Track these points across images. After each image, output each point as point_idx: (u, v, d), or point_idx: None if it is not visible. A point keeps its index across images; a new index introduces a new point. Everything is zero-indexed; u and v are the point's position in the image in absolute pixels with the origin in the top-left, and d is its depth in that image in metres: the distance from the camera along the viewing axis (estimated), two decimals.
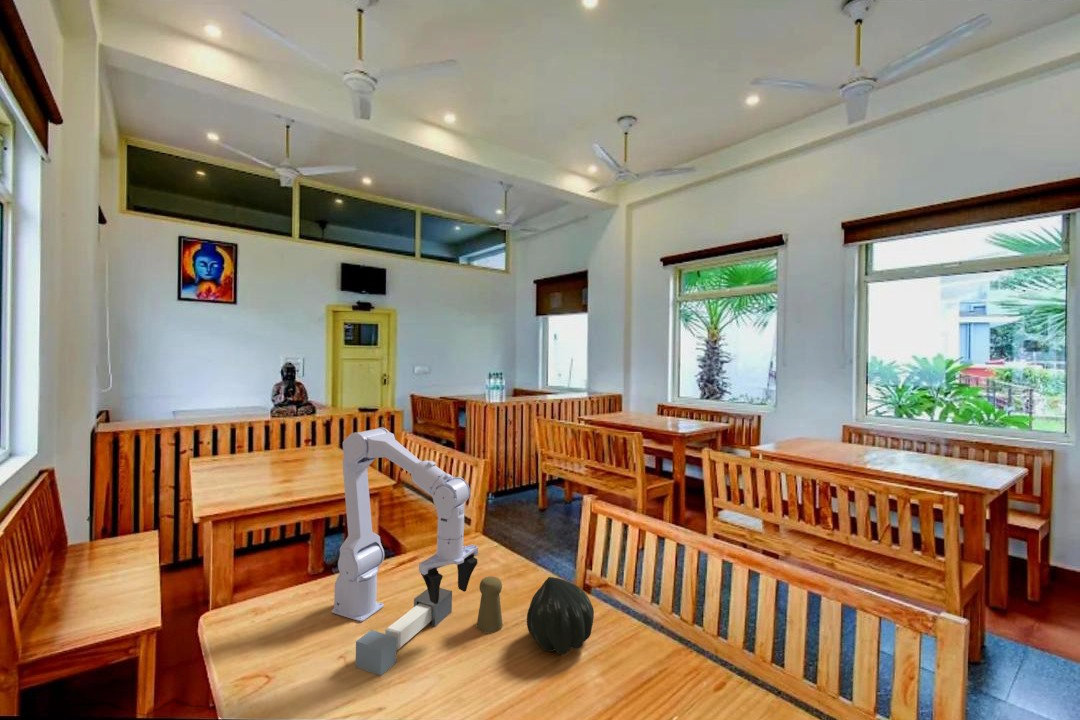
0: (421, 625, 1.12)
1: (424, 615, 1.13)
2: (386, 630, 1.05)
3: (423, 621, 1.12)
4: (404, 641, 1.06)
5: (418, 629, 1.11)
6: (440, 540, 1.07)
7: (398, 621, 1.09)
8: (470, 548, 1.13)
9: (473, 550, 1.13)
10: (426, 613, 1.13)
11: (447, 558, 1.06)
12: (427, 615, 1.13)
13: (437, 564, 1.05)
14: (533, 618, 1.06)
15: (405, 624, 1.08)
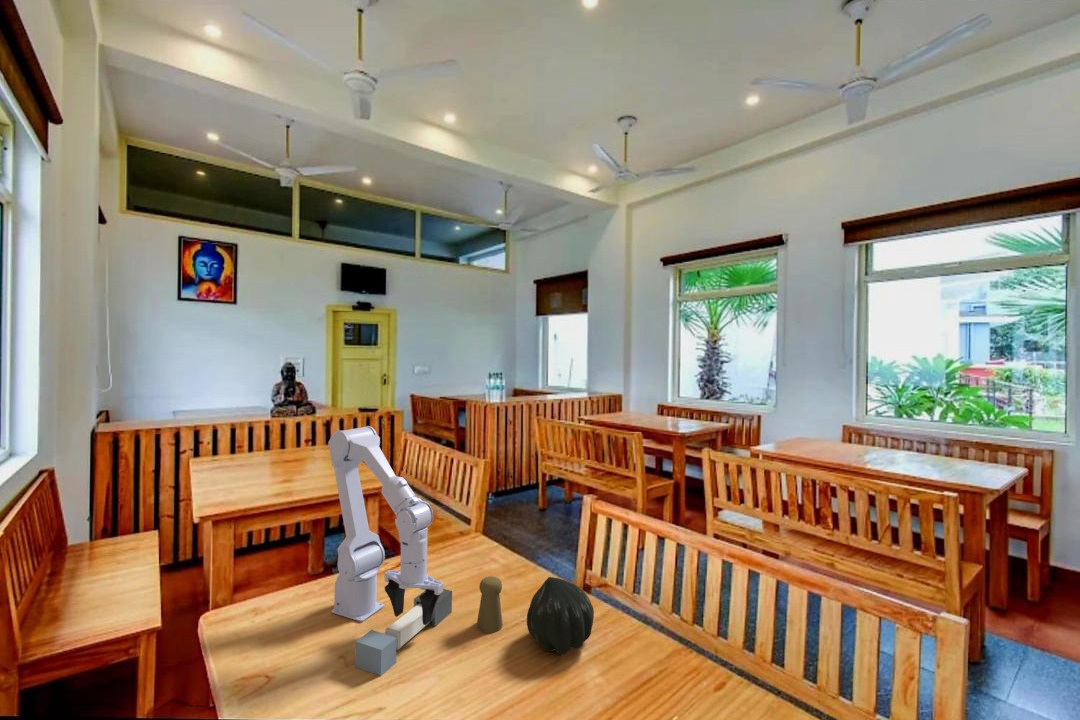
0: (421, 625, 1.12)
1: None
2: (386, 630, 1.05)
3: None
4: (404, 641, 1.06)
5: (418, 629, 1.11)
6: None
7: (398, 621, 1.09)
8: (434, 584, 1.08)
9: (431, 587, 1.08)
10: None
11: (400, 577, 1.10)
12: None
13: (392, 578, 1.11)
14: (533, 618, 1.06)
15: (405, 624, 1.08)
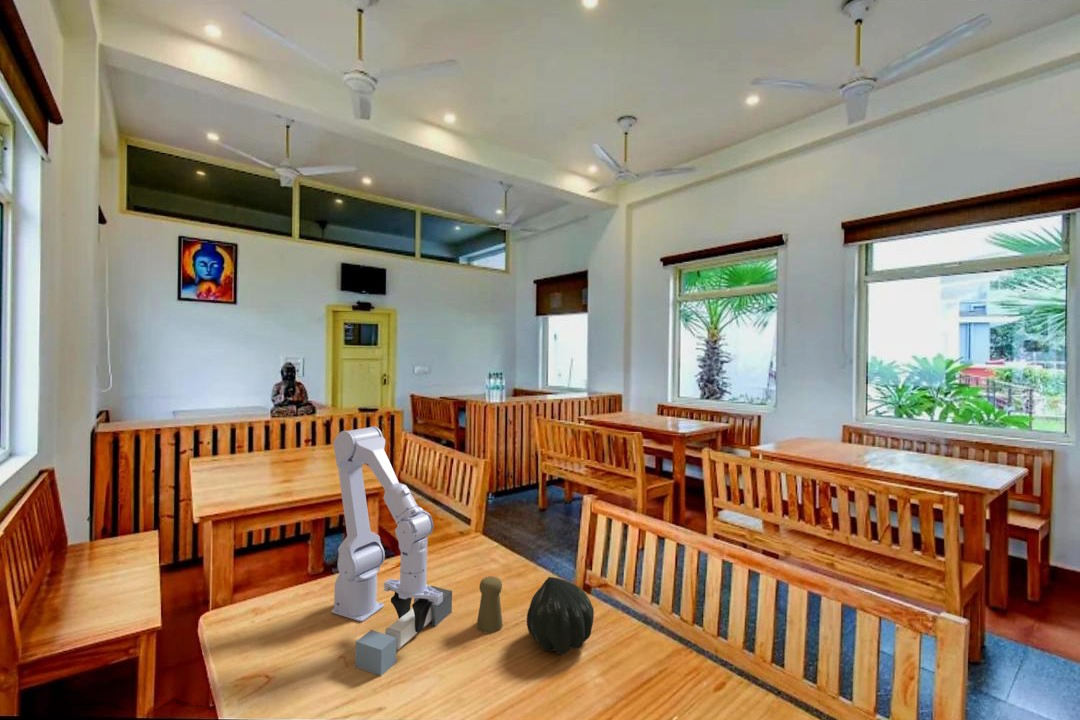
0: None
1: None
2: (386, 630, 1.05)
3: None
4: (404, 641, 1.06)
5: None
6: None
7: (398, 621, 1.09)
8: (434, 594, 1.09)
9: (431, 597, 1.08)
10: None
11: (400, 587, 1.10)
12: (427, 615, 1.13)
13: (392, 587, 1.11)
14: (533, 618, 1.06)
15: (405, 624, 1.08)
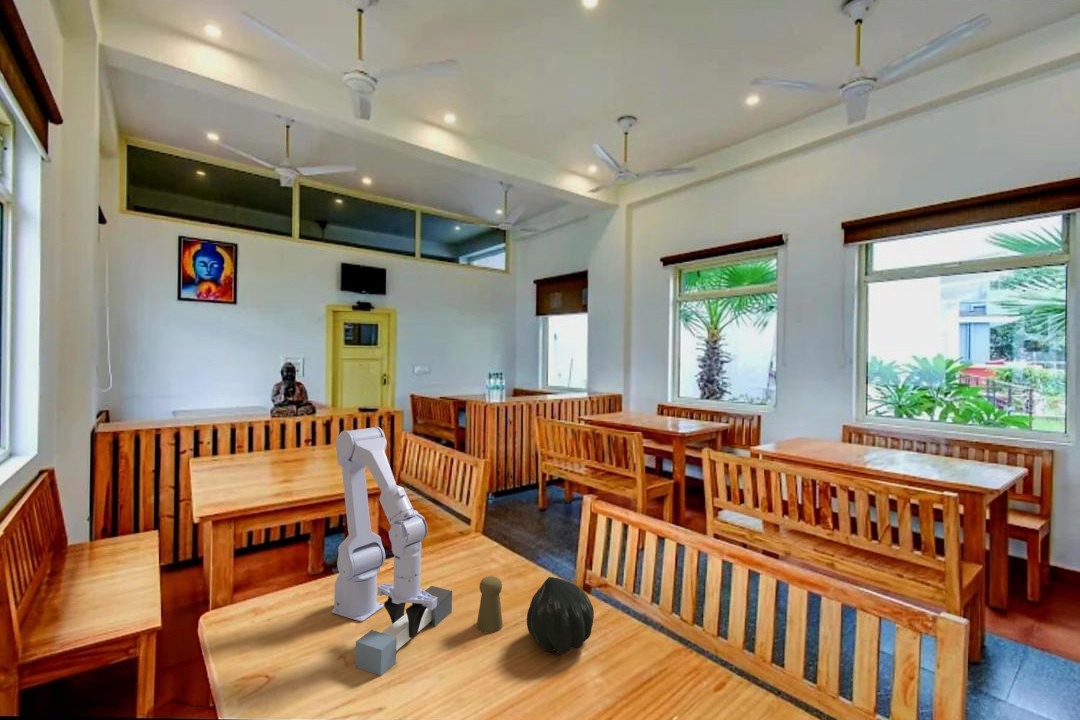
0: None
1: None
2: None
3: None
4: (398, 646, 1.04)
5: None
6: None
7: (391, 626, 1.07)
8: (428, 598, 1.07)
9: (425, 601, 1.06)
10: None
11: (393, 592, 1.08)
12: (421, 620, 1.12)
13: (385, 592, 1.09)
14: (533, 618, 1.06)
15: (399, 629, 1.06)
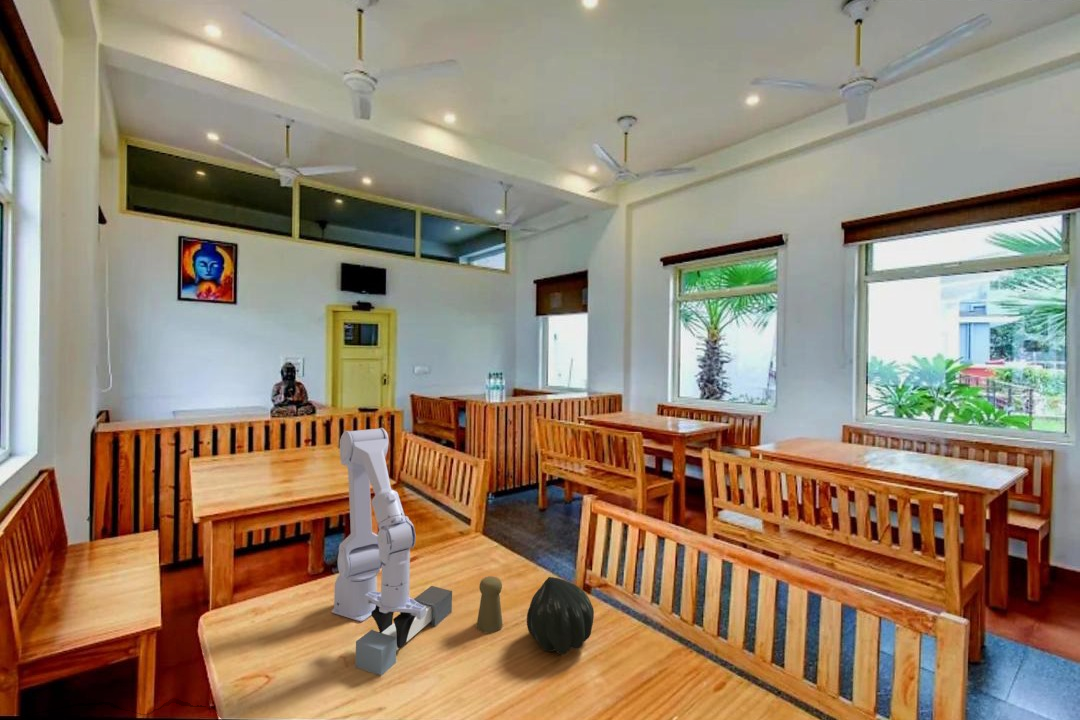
0: None
1: None
2: None
3: None
4: None
5: None
6: None
7: None
8: (416, 607, 1.03)
9: (413, 611, 1.02)
10: None
11: (381, 600, 1.04)
12: (410, 629, 1.08)
13: (373, 600, 1.05)
14: (533, 618, 1.06)
15: None
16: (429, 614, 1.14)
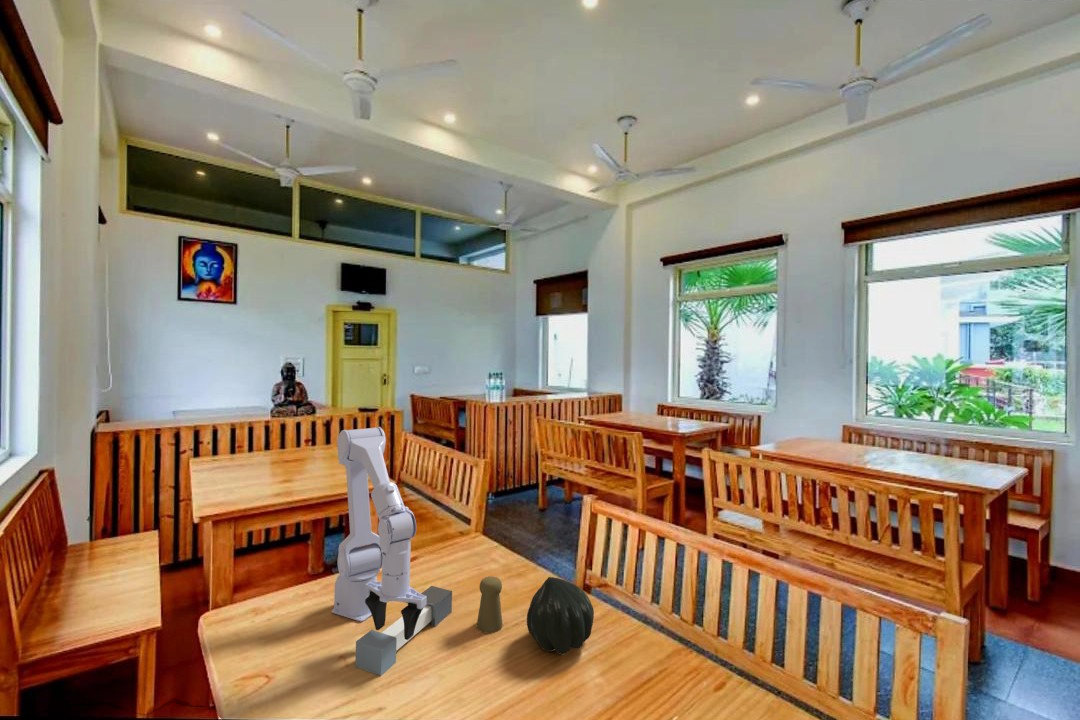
0: (404, 639, 1.06)
1: None
2: None
3: None
4: None
5: (401, 644, 1.05)
6: None
7: None
8: (417, 597, 1.03)
9: (414, 600, 1.02)
10: None
11: (381, 590, 1.04)
12: None
13: (373, 590, 1.05)
14: (533, 618, 1.06)
15: None
16: (429, 614, 1.14)
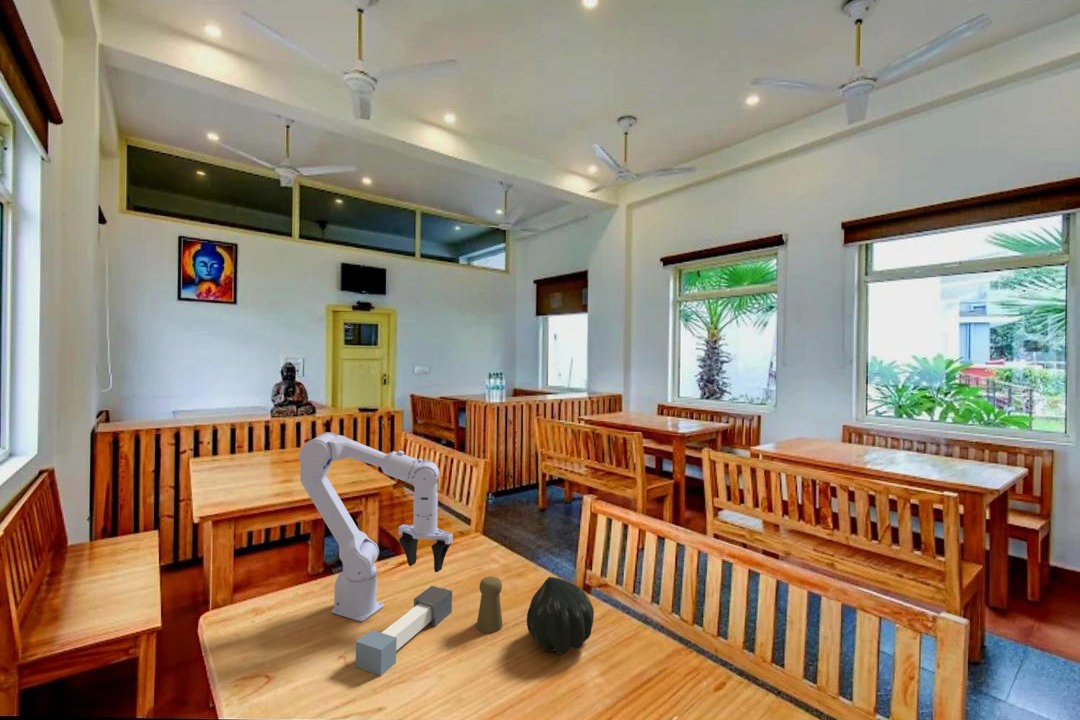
0: (404, 639, 1.06)
1: (408, 629, 1.07)
2: None
3: (406, 635, 1.07)
4: None
5: (401, 644, 1.05)
6: None
7: None
8: (444, 535, 1.19)
9: (442, 537, 1.18)
10: (410, 626, 1.08)
11: (413, 529, 1.20)
12: (410, 629, 1.08)
13: (406, 530, 1.21)
14: (533, 618, 1.06)
15: None
16: (429, 614, 1.14)
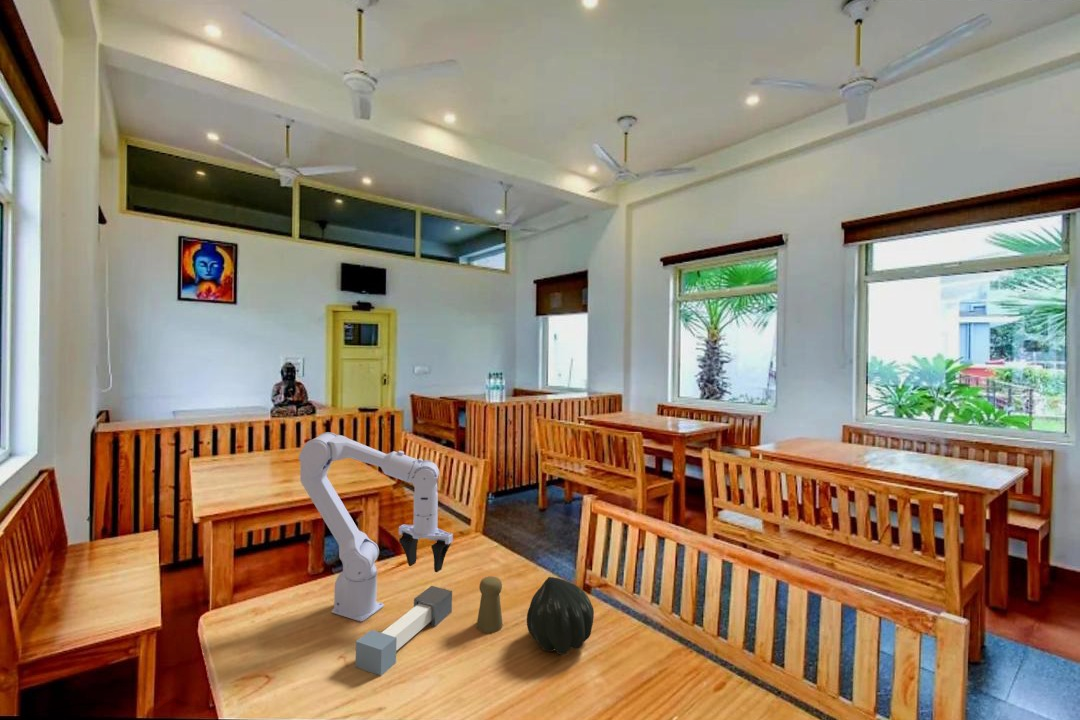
0: (404, 639, 1.06)
1: (408, 629, 1.07)
2: None
3: (406, 635, 1.07)
4: None
5: (401, 644, 1.05)
6: None
7: None
8: (444, 535, 1.19)
9: (442, 537, 1.18)
10: (410, 626, 1.08)
11: (413, 529, 1.20)
12: (410, 629, 1.08)
13: (406, 530, 1.21)
14: (533, 618, 1.06)
15: None
16: (429, 614, 1.14)
